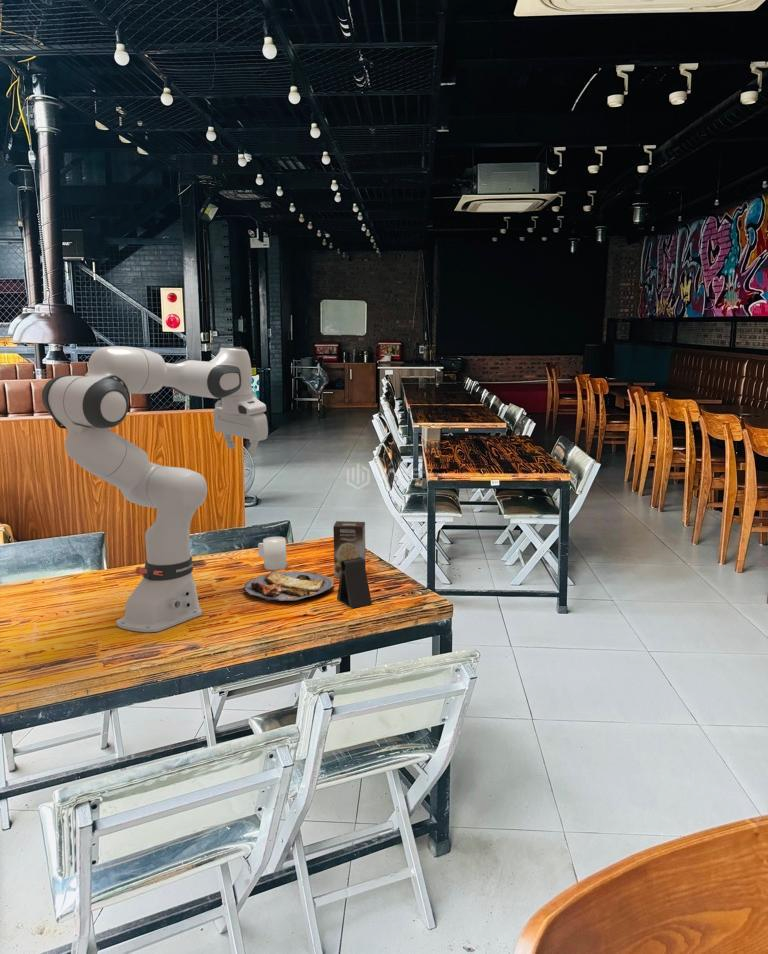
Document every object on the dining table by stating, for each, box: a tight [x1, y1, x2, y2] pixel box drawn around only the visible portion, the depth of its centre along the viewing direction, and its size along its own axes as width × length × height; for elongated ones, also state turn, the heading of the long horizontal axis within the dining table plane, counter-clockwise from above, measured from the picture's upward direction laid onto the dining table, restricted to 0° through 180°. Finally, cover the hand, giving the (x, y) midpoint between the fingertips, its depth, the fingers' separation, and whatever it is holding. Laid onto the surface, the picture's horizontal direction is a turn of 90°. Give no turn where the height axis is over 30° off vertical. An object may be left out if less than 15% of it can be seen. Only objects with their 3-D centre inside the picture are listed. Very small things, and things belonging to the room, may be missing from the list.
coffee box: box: [332, 520, 367, 579], centre depth 228 cm, size 9×6×16 cm
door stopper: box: [336, 557, 373, 609], centre depth 205 cm, size 9×6×12 cm, turn 30°
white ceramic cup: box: [257, 536, 288, 571], centre depth 239 cm, size 7×9×9 cm
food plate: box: [242, 570, 334, 602], centre depth 217 cm, size 25×23×4 cm
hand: (241, 451), depth 218 cm, fingers open, 8 cm apart
